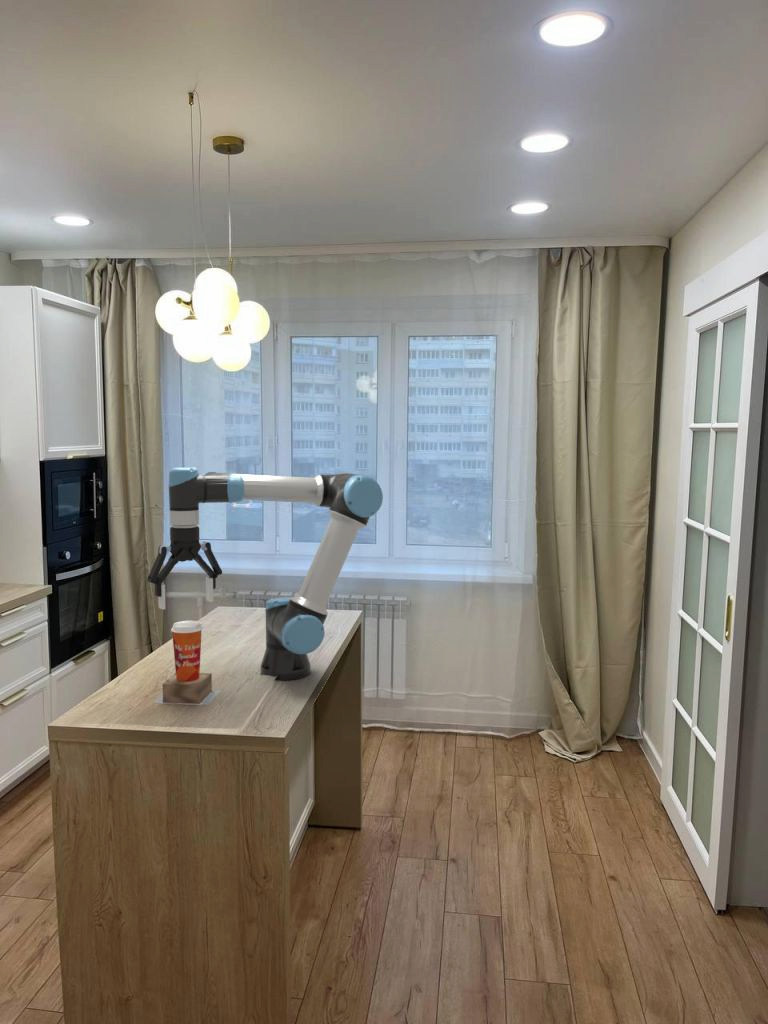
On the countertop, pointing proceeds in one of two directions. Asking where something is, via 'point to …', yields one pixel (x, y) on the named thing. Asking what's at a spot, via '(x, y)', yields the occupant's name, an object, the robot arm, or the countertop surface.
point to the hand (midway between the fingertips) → (186, 604)
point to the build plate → (204, 702)
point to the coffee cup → (187, 649)
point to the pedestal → (187, 689)
